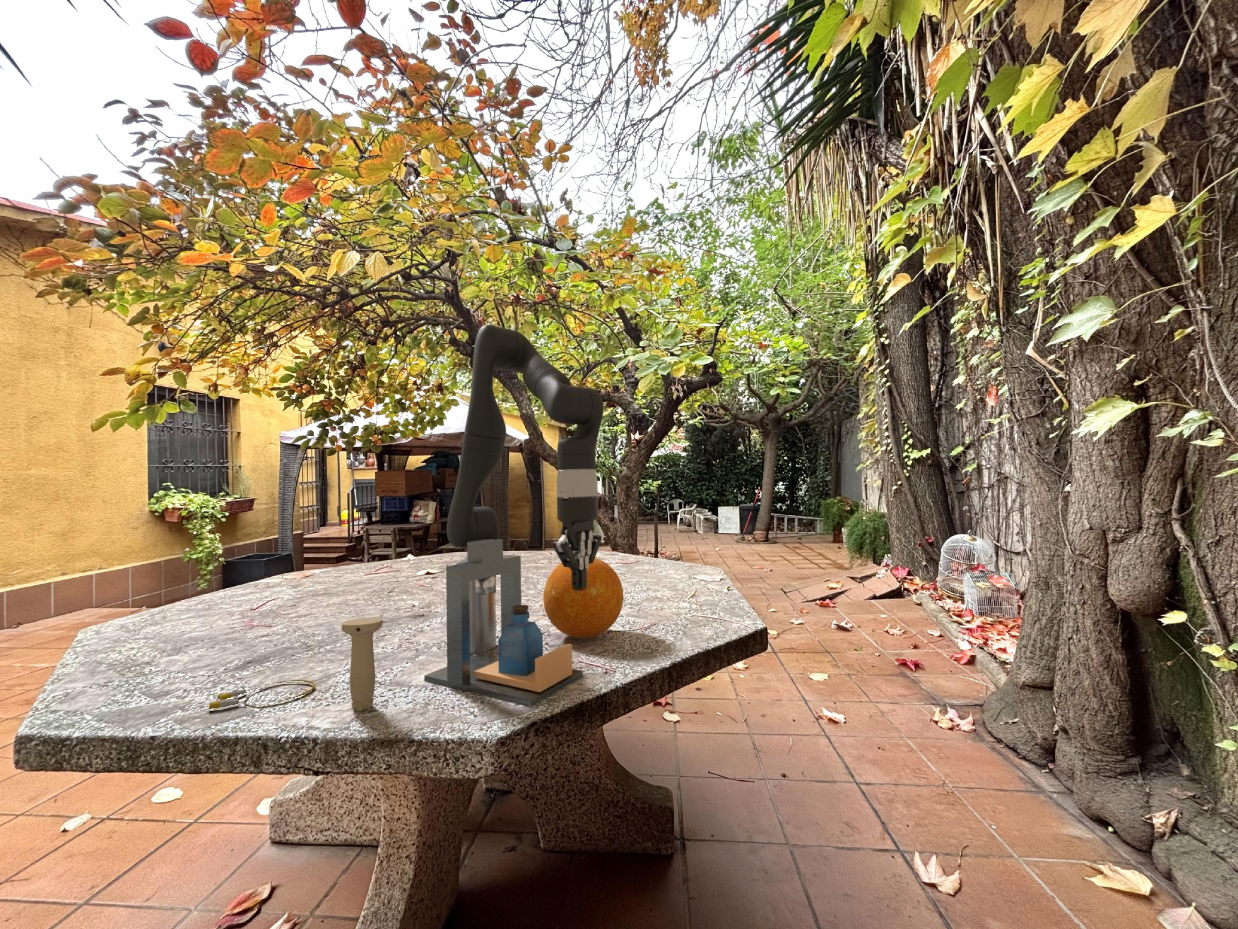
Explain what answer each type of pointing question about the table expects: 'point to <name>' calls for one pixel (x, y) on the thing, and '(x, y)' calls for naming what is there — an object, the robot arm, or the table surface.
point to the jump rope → (228, 702)
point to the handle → (362, 660)
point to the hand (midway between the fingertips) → (579, 589)
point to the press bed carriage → (544, 676)
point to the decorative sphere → (583, 600)
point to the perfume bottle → (519, 644)
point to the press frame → (460, 667)
